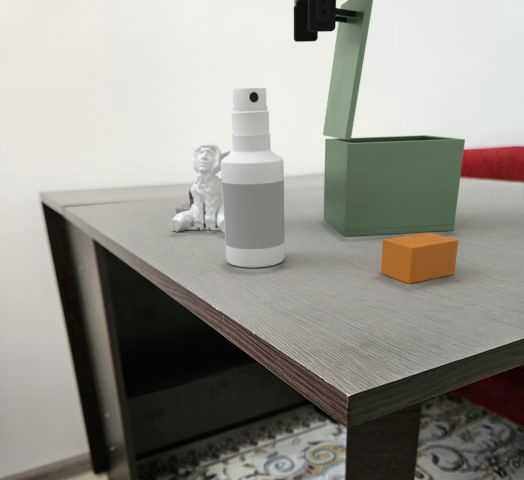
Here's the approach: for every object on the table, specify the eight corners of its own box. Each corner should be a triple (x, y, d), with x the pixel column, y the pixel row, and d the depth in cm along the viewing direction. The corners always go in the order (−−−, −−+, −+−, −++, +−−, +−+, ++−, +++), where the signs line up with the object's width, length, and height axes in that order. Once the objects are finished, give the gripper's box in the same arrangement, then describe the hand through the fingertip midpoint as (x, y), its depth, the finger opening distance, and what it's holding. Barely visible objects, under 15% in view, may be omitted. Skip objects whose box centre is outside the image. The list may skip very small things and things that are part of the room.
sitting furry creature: (168, 232, 77) (159, 144, 72) (188, 220, 84) (182, 141, 79) (230, 233, 75) (225, 143, 70) (245, 221, 82) (242, 139, 77)
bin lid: (346, 5, 71) (306, -1, 70) (375, -15, 59) (328, -22, 58) (327, 135, 77) (290, 131, 76) (350, 140, 66) (307, 135, 65)
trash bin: (418, 214, 84) (426, 135, 79) (453, 230, 73) (465, 139, 68) (323, 219, 82) (325, 138, 77) (344, 236, 71) (347, 143, 66)
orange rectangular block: (424, 264, 57) (427, 232, 56) (454, 274, 54) (458, 239, 52) (380, 273, 55) (383, 239, 53) (409, 284, 51) (412, 247, 50)
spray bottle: (233, 271, 57) (224, 87, 50) (220, 256, 63) (210, 90, 56) (292, 264, 59) (291, 86, 51) (274, 251, 65) (271, 89, 57)
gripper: (370, -176, 52) (361, 26, 59) (329, -110, 67) (326, 44, 74) (295, -178, 51) (296, 27, 58) (271, -110, 67) (274, 45, 74)
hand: (313, 36), depth 66 cm, fingers open, 9 cm apart
